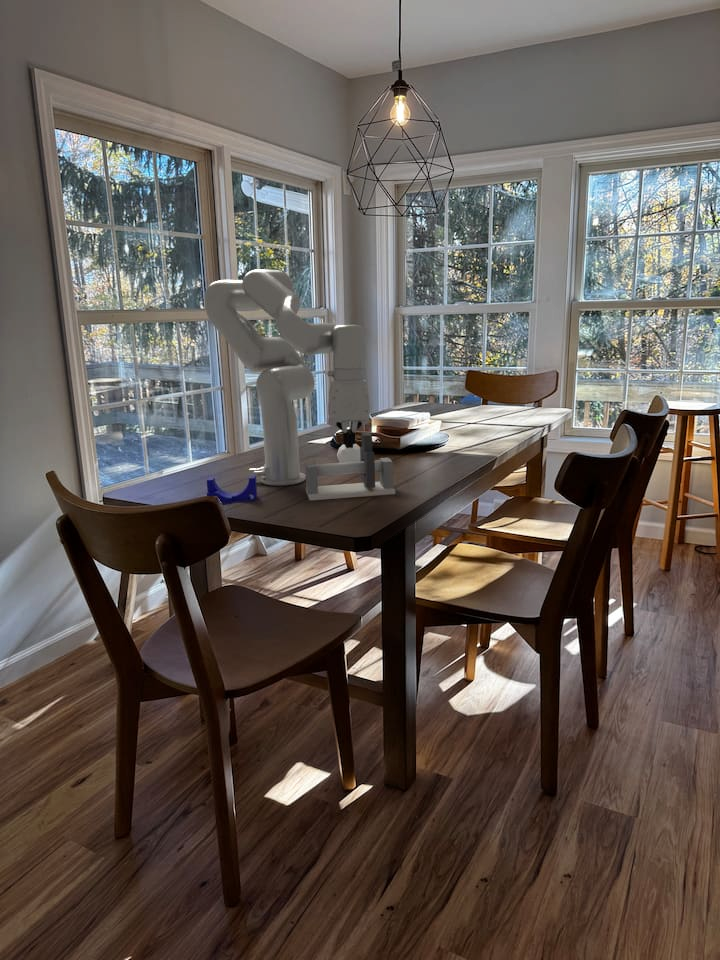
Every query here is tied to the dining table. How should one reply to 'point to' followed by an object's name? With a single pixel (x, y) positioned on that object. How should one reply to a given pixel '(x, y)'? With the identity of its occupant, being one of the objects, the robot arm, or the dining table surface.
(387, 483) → the pipe stand
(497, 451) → the dining table surface
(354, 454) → the geometric ball
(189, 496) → the dining table surface
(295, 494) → the dining table surface
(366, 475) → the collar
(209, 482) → the blue pipe cradle
